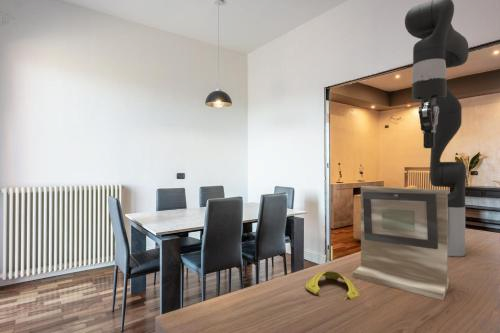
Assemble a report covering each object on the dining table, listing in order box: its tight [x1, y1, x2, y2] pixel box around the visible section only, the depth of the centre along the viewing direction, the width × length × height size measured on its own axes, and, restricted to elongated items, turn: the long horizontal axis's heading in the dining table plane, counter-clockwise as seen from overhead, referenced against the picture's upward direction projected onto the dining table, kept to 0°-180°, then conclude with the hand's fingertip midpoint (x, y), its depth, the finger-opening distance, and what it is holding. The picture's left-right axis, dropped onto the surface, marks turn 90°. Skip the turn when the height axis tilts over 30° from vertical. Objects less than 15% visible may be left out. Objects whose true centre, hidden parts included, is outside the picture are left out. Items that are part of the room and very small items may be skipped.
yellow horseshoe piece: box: [305, 270, 360, 301], centre depth 75 cm, size 13×13×4 cm
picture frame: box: [363, 192, 438, 249], centre depth 78 cm, size 2×18×14 cm, turn 50°
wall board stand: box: [352, 185, 450, 301], centre depth 80 cm, size 12×22×26 cm, turn 49°
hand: (428, 148), depth 74 cm, fingers closed
